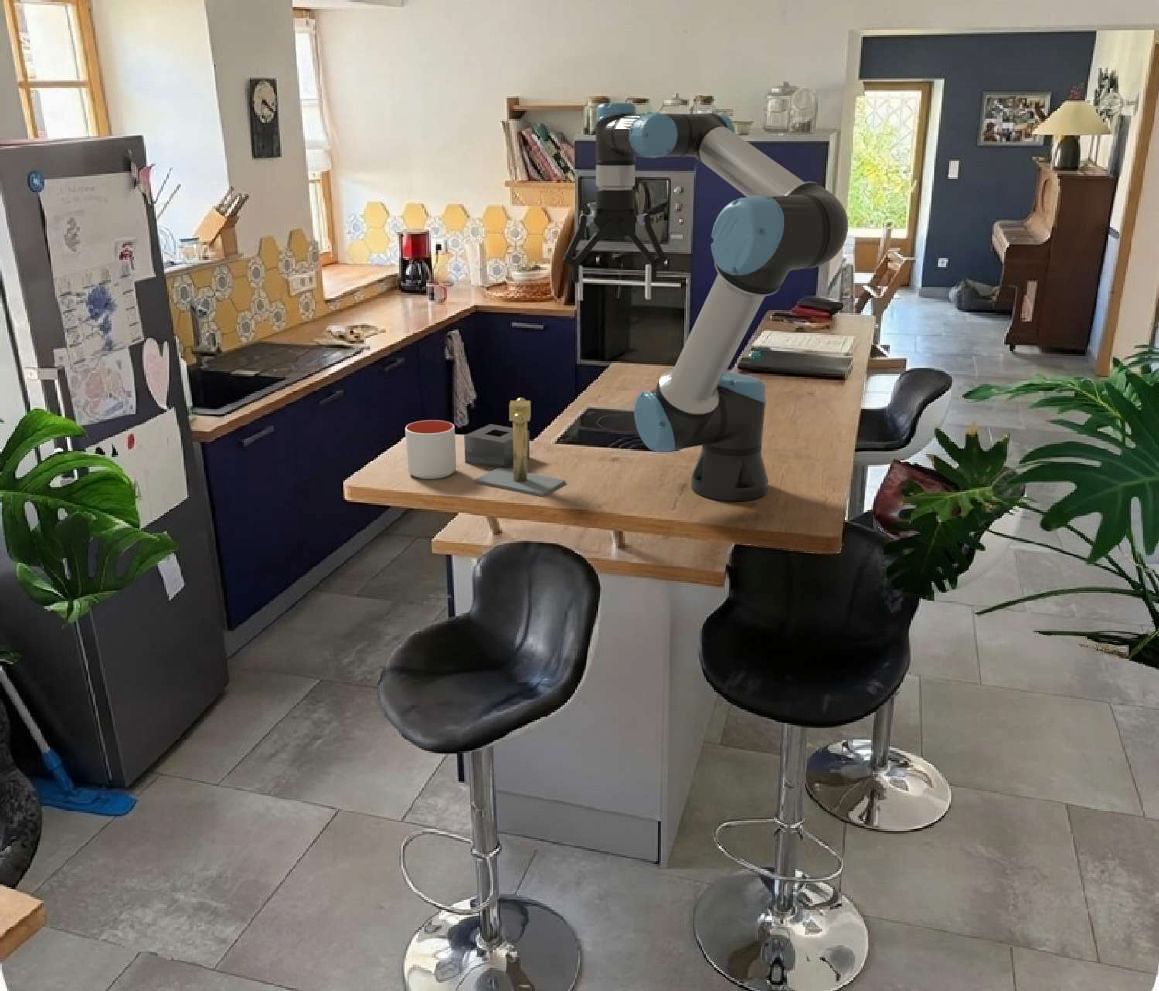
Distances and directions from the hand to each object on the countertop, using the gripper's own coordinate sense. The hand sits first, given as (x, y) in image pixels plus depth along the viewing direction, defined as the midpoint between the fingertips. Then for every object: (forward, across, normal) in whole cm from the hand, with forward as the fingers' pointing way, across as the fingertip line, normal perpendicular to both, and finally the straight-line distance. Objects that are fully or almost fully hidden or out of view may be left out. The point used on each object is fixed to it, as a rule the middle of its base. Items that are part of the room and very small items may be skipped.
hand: (614, 299), depth 204 cm
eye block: (+35, +24, -6) cm, 43 cm away
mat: (+35, +20, +9) cm, 41 cm away
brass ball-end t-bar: (+35, +20, +9) cm, 41 cm away
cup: (+35, +38, +2) cm, 52 cm away
